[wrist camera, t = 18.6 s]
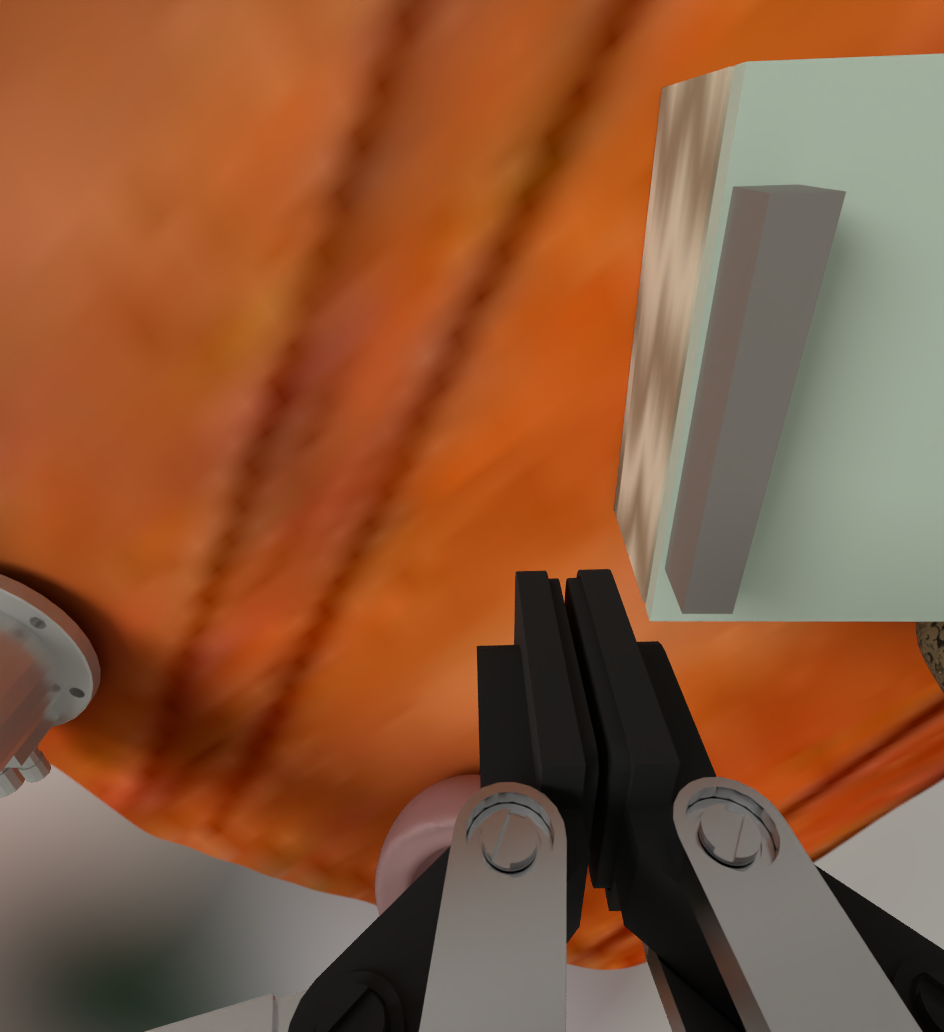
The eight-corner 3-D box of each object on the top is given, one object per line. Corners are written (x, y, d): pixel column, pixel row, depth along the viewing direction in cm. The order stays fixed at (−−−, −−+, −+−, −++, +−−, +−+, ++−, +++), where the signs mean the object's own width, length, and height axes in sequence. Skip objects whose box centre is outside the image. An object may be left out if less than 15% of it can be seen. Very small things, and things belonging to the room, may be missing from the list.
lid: (989, 607, 23) (1056, 670, 20) (645, 607, 23) (664, 668, 21) (1312, 41, 14) (1514, 17, 11) (734, 65, 14) (790, 47, 12)
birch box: (883, 507, 29) (983, 602, 23) (613, 509, 29) (643, 602, 24) (1057, 72, 20) (1296, 43, 14) (662, 88, 20) (729, 66, 14)
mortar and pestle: (540, 723, 38) (554, 920, 29) (574, 826, 44) (596, 1017, 35) (367, 750, 40) (326, 942, 31) (422, 845, 46) (403, 1030, 37)
